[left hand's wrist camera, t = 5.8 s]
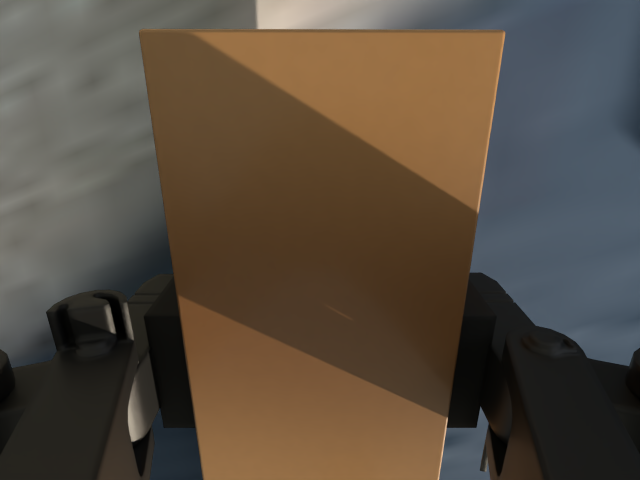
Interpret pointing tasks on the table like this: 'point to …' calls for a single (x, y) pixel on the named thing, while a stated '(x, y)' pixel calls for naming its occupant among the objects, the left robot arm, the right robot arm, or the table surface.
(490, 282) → the left robot arm
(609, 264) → the table surface
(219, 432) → the bar
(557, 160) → the table surface
